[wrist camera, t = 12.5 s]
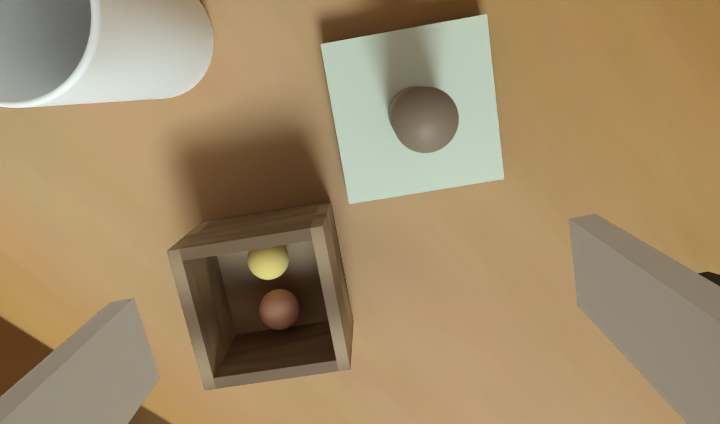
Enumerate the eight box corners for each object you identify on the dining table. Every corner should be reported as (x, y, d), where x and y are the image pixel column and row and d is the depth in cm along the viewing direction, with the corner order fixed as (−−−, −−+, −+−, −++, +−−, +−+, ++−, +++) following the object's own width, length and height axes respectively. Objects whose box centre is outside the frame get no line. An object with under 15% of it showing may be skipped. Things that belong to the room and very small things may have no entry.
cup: (238, 45, 36) (139, 16, 21) (156, 122, 37) (5, 148, 22) (154, -53, 35) (-20, -164, 19) (72, 31, 36) (-152, -10, 21)
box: (201, 222, 39) (166, 251, 32) (330, 201, 39) (322, 226, 32) (231, 340, 42) (204, 390, 35) (353, 322, 41) (350, 369, 34)
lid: (322, 45, 35) (308, 33, 27) (482, 16, 35) (516, -4, 27) (349, 200, 38) (344, 231, 30) (499, 175, 37) (535, 200, 29)
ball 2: (259, 286, 40) (251, 302, 37) (298, 280, 39) (292, 295, 36) (268, 321, 40) (260, 340, 37) (305, 315, 40) (300, 334, 37)
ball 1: (248, 236, 39) (238, 249, 36) (287, 230, 38) (280, 242, 36) (257, 273, 39) (248, 289, 36) (295, 267, 39) (289, 282, 36)
